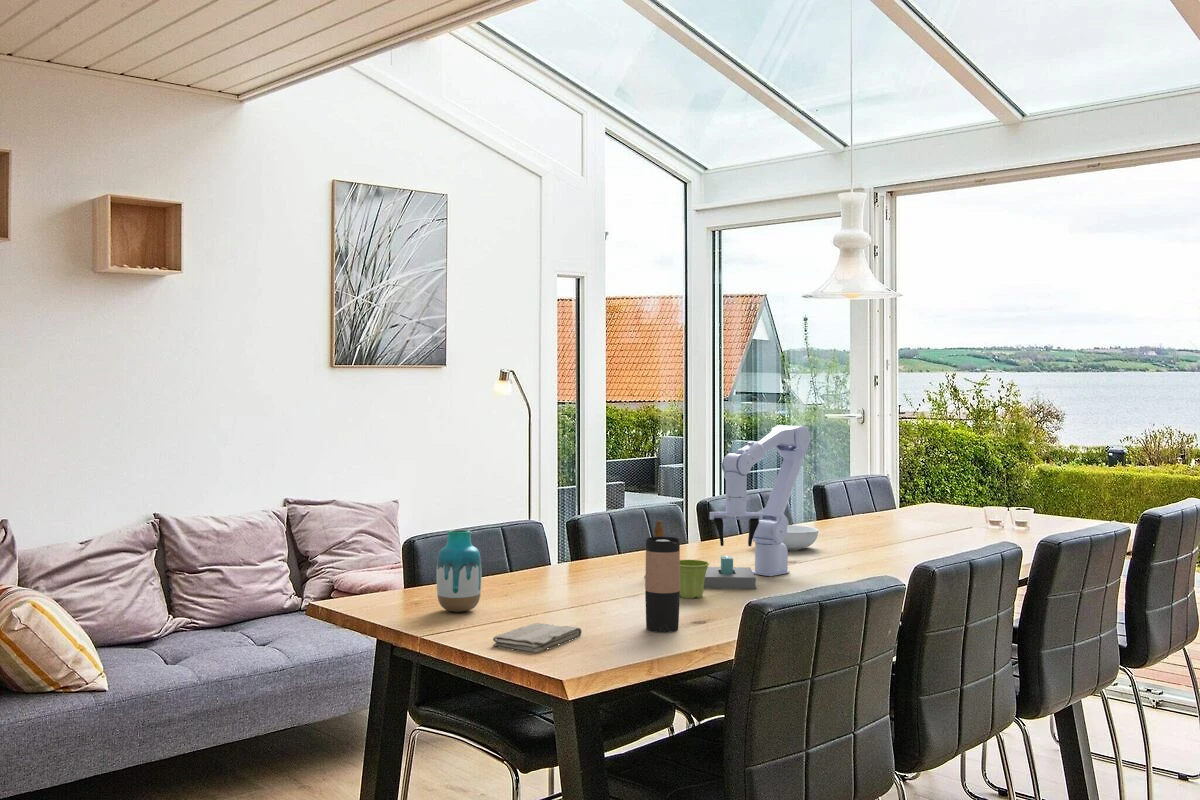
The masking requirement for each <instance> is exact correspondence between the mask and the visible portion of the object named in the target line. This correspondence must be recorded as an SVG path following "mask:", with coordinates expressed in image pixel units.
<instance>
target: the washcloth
mask: <svg viewBox="0 0 1200 800" xmlns="http://www.w3.org/2000/svg"><path fill="white" fill-rule="evenodd" d="M582 633H583V631H582V629H581V627H577V626H569V625H554V624H548V623H539V622H536V623H531V624H529V625H525V626H521V627H518V628H515V629H512V630H509V631H506V632H504V633H501V634H498V635H495V636H494V637H493V638H492V641H494V644H492V647H493V646H498V647H497V648H499V647H500V648H499V649H502V648H507V649H506V650H509V649H513V650H512V651H516V650H519V651H518V652H522V651H524V652H523V653H529V652H530V653H531V654H537V653H536V652H538V653H541V651H543V650H546V651H548V650H547V648H549V650H551V649H550V648H552V649H553V647H554V648H556V647H555V646H557V647H559V646H558V644H562V645H564V644H566V643H565V642H567V643H569V642H570V641H569V640H572V639H574V640H576V639H575V638H577V639H579V638H580V637H581V636H582ZM578 637H579V638H578ZM568 641H569V642H568ZM572 641H573V640H572ZM563 643H564V644H563ZM543 652H544V651H543Z"/></svg>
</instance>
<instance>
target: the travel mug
mask: <svg viewBox="0 0 1200 800" xmlns="http://www.w3.org/2000/svg"><path fill="white" fill-rule="evenodd" d="M680 545H681V542H680V538H678V537H673V536H663V537H655V536H650V537H647V538H646V539H645V574H644V576H645V578H644V579H645V583H644V584H645V585H644V588H645V592H644V593H645V625H646V627H645V628H646V630H647V631H650V632H652V633H674V632H676V631H679V625H680V624H679V623H680V600H681V599H680V597H681V596H680V560H681V555H680V553H681V552H680V551H681V549H680V547H681V546H680Z"/></svg>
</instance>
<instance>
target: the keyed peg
mask: <svg viewBox="0 0 1200 800" xmlns="http://www.w3.org/2000/svg"><path fill="white" fill-rule="evenodd" d="M720 567H721V574H733V567H734V558H733V556H732V555H721V556H720Z"/></svg>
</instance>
